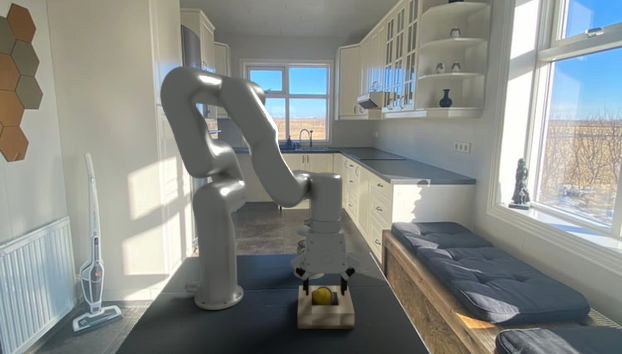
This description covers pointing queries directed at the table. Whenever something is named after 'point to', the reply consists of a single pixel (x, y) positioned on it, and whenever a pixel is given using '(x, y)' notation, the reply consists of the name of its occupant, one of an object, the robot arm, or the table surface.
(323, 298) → the yellow stepped cone
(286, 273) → the table surface
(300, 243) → the french press
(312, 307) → the socket block
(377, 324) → the table surface
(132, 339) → the table surface
